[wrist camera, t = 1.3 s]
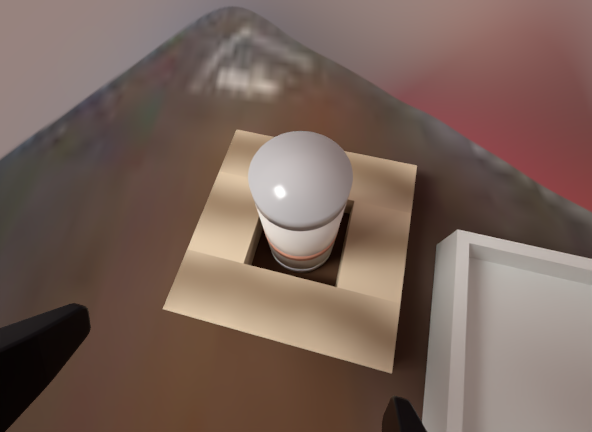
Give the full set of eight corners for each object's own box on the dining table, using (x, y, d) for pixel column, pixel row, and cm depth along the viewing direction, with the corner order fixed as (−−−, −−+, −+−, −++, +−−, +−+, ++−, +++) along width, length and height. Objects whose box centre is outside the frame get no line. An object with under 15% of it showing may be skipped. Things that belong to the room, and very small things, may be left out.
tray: (673, 535, 17) (760, 581, 14) (419, 456, 18) (443, 481, 15) (631, 289, 22) (688, 280, 19) (436, 244, 24) (457, 229, 20)
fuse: (325, 280, 23) (342, 234, 13) (262, 264, 23) (233, 208, 14) (338, 220, 25) (361, 141, 15) (279, 207, 25) (265, 122, 16)
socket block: (381, 370, 20) (391, 373, 18) (177, 312, 22) (162, 309, 20) (406, 181, 26) (417, 165, 24) (242, 147, 28) (236, 129, 25)
